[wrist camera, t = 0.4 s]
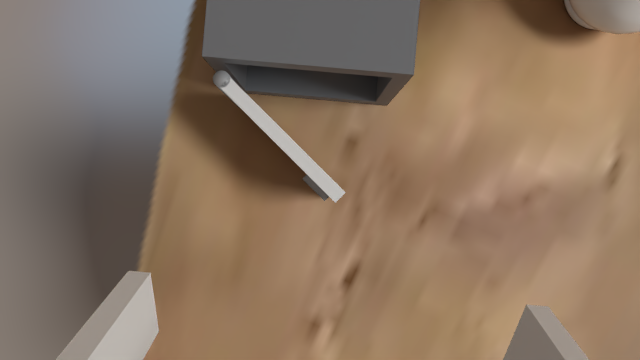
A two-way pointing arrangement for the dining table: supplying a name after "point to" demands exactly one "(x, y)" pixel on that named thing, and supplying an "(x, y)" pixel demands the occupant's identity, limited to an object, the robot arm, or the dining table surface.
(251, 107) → the door
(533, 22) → the dining table surface
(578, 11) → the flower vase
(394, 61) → the block
